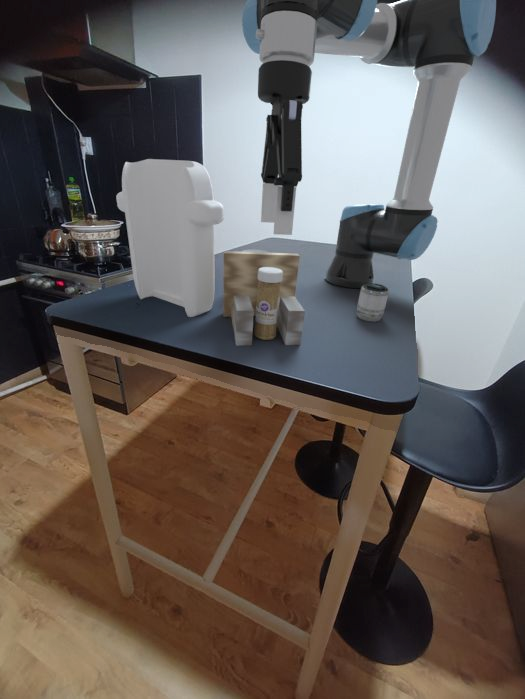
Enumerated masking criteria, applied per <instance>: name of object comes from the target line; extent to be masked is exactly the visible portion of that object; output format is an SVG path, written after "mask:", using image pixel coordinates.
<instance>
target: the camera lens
mask: <svg viewBox="0 0 525 699" xmlns="http://www.w3.org/2000/svg"><path fill="white" fill-rule="evenodd" d="M389 295H390V290H389V288H388V287H386V286H385V285H383V284H380V283H376V282H375V283H374V282H373V283H369V284H365V285H363V286H362V287H361V288H360V291H359V297H358V302H357V306H356V316H357V317H358V318H359V319H360V320H362V321H366V322H380V321H381V320H382V317H383V316H384V313H385V309H386V305H387V302H388V297H389Z"/></svg>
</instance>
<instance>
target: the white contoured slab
mask: <svg viewBox="0 0 525 699" xmlns="http://www.w3.org/2000/svg"><path fill="white" fill-rule="evenodd" d="M121 174H122V175H121V188H122V189H121V191H120V192H118V193H117V194H116V198H115V199H116V203H117V204H116V206H117V208H118V210H120V211H121V212H123V213H124V216H125V224H126V230H127V238H128V245H129V255H130V262H131V268H132V276H133V283H134V286H135V290H136V293H137V294H138V297H139V299H140V300H142V299H143V300H144V299H145V298H149V297H155V298H158V299H160V300H163V301H166V302H169V303H171V304H174V305H177V306H180V307H182V308H184V310H185V313H186V315H187V317H189V318H194V317H197V316H199V315H202V314H204V313H207V312H209V311H211V309H212V307H213V305H214V300H215V292H216V291H215V278H216V277H215V275H216V273H215V270H216V269H215V226H216V225H219V224H221V223H222V222H223V221H224V219H225V218H224V215H225V214H224V213H225V211H224V210H225V209H224V208H225V207H224V205H223V204H222V203H221V202H219V201H217V200H215V199H214V198H215V197H214V189H213V184H212V179H211V177H210V174H209V172H208V170H207V169H206V167H205V166H204V165H203V164H201V163H199V162H197V161H192V160H183V159H181V160H179V159H177V160H176V159H156V158H155V159H154V158H147V159H143V160H139V161H135V162H129V161H125V163H124V164H123V168H122V173H121Z"/></svg>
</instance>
